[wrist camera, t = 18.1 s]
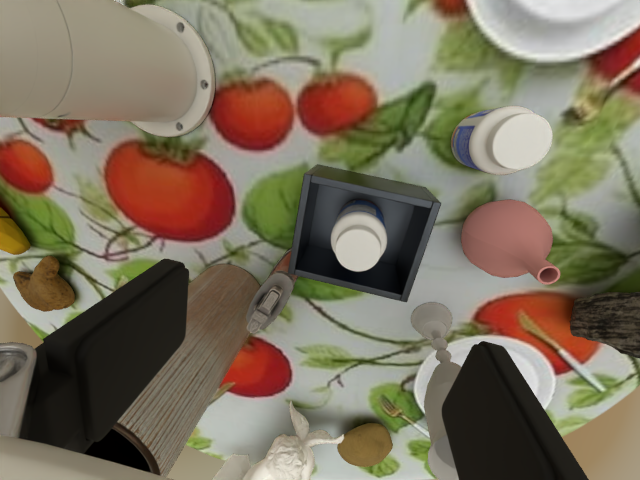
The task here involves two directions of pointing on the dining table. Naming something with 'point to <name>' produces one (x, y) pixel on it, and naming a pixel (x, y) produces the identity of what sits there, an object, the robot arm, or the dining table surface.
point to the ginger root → (45, 286)
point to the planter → (184, 375)
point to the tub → (400, 222)
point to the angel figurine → (281, 456)
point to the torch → (11, 236)
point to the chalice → (437, 385)
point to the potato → (365, 445)
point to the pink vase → (509, 241)
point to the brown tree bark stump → (609, 320)
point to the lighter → (271, 296)
